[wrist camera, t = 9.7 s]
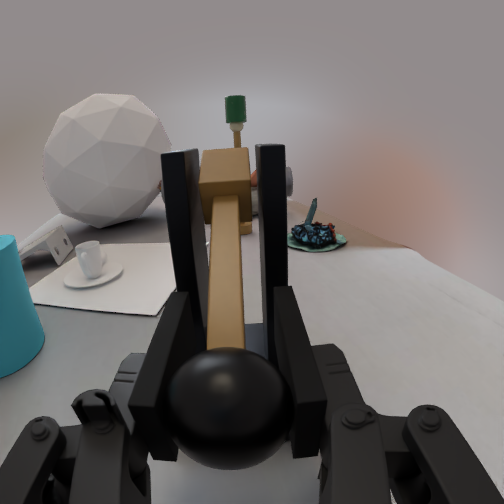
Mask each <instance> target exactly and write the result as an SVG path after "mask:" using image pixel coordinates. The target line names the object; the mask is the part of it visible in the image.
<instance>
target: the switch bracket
mask: <svg viewBox="0 0 504 504" xmlns="http://www.w3.org/2000/svg"><path fill="white" fill-rule="evenodd" d="M255 152H256V174H257V195H258V217H259V239H260V262H261V286H262V311H263V323H256V324H245V344H246V349H247V350H250V351H253V352H255V353H257V354H259V355H261V356H263V357H264V358H266V359H267V360H269V361H270V362H271V363H273V364H274V365H275V366H276V367H277V368H278V369H279V364H278V358H277V352H276V346H275V336H274V287H281V286H288V238H287V196H291V195H292V192H293V178H292V171H291V168H290V167H286V160H285V145H282V144H257V145H255ZM160 157H161V169H162V180H161V193H162V199H163V201H164V203H165V208H166V217H167V225H168V233H169V240H170V248H171V255H172V262H173V269H174V275H175V282H176V288H177V292H187V291H188V292H189V298H190V305H191V311H192V317H193V324H194V330H195V335H196V341H197V345H196V351H195V355H196V354H198V353H200V352H202V351H205V350H207V315H208V284H209V266H208V256H207V247H206V237H205V226H204V216H203V210H202V204H201V198H200V192H199V186H198V180H199V173H200V167H199V153H198V149H186V150H178V151H172V152H166V153H162V154H161V155H160ZM287 440H290V434H288V437H287V438H286V440H285V441H287Z"/></svg>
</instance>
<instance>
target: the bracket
mask: <svg viewBox="0 0 504 504" xmlns="http://www.w3.org/2000/svg"><path fill="white" fill-rule="evenodd" d="M63 238H64V239H65V240H66V242H67V245H65V243H64V241H63ZM55 247H56V248H57V250H58V252H59V255H57V254H56V252H55ZM73 248H74V247H73V246H72V244H71V242H70V240H69V238H68V236H67V234H66V233H65V231H64V229H63V227H62V225H61V226H59V227H57V228H56V229H54V230H52V231H51V232H49V233H47V234H46V235H44V236H43V237H41V238H39V239H38V240H36V241H35V242H32V243H31V244H29V245H28V246H26V247H25V248H23V249H22V250H20V251H19V252H18V253H19V257H20V260H21V261H22V260H23V259H25V258H26V257H28V256H29V255H31V254H33V253H34V252H36V251H37V250H46V251H50V252H51V254H52V256H53V257H54V259H55V261H56V263H57V264H58V266H59V265H60V264H61V263H62V262H63V260H64V259H65V258H66V256H67V255H68V254H69V253H70V251H71V250H72V249H73Z"/></svg>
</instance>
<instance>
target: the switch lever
mask: <svg viewBox="0 0 504 504" xmlns="http://www.w3.org/2000/svg"><path fill="white" fill-rule="evenodd" d="M198 186H199V192H200V198H201V204H202V210H203V216H204V221H205V224H211V239H210V259H209V284H208V315H207V350H205V351H202V352H200V353H198V354H196V355H194V356H192V357H191V358H189V359H188V360H187V361H185V362H184V363H183V364H182V365H181V366H180V367H179V368H178V369H177V370H176V371H175V373H174V374H173V375H172V377H171V379H170V381H169V383H168V385H167V388H166V391H165V395H164V401H163V414H164V420H165V423H166V427H167V429H168V432H169V434H170V436H171V438H172V439H173V441H174V442H175V444H176V445H177V446H178V447H179V448H180V449H181V450H182V451H183V452H184V453H185V454H186V455H187V456H189V457H190V458H192V459H193V460H195V461H196V462H199V463H201V464H203V465H205V466H208V467H211V468H216V469H221V470H238V469H244V468H248V467H251V466H254V465H257V464H259V463H261V462H263V461H265V460H266V459H268V458H269V457H270V456H272V455H273V454H274V453H275V452H276V451H277V450H278V449H279V448H280V447H281V446H282V444H283V443H284V442H285V440H286V438H287V437H288V434H289V432H290V430H291V427H292V423H293V417H294V402H293V395H292V392H291V389H290V387H289V385H288V383H287V381H286V379H285V377H284V376H283V374H282V373H281V372H280V370H279V369H278V368H277V367H276V366H275V365H274V364H273V363H271V362H270V361H269V360H267V359H266V358H264V357H263V356H261V355H259V354H257V353H255V352H253V351H250V350H247V349H246V344H245V323H244V301H243V279H242V255H241V230H240V222H252V193H251V174H250V163H249V152H248V148H247V147H244V148H227V149H214V150H203V153H202V159H201V166H200V173H199V180H198Z"/></svg>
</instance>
